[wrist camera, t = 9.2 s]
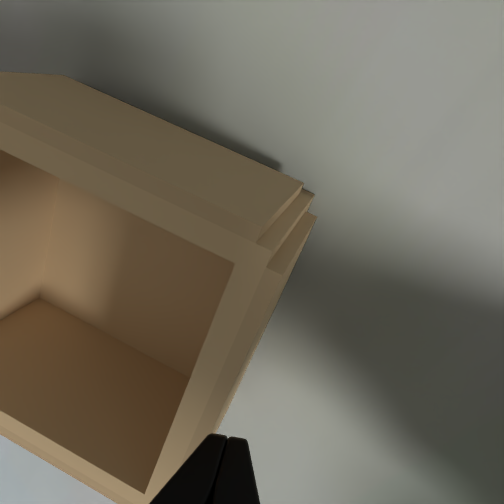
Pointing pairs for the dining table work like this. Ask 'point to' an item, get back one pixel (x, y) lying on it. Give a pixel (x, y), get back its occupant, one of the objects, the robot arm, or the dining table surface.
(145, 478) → the carton
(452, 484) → the dining table surface
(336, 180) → the dining table surface
